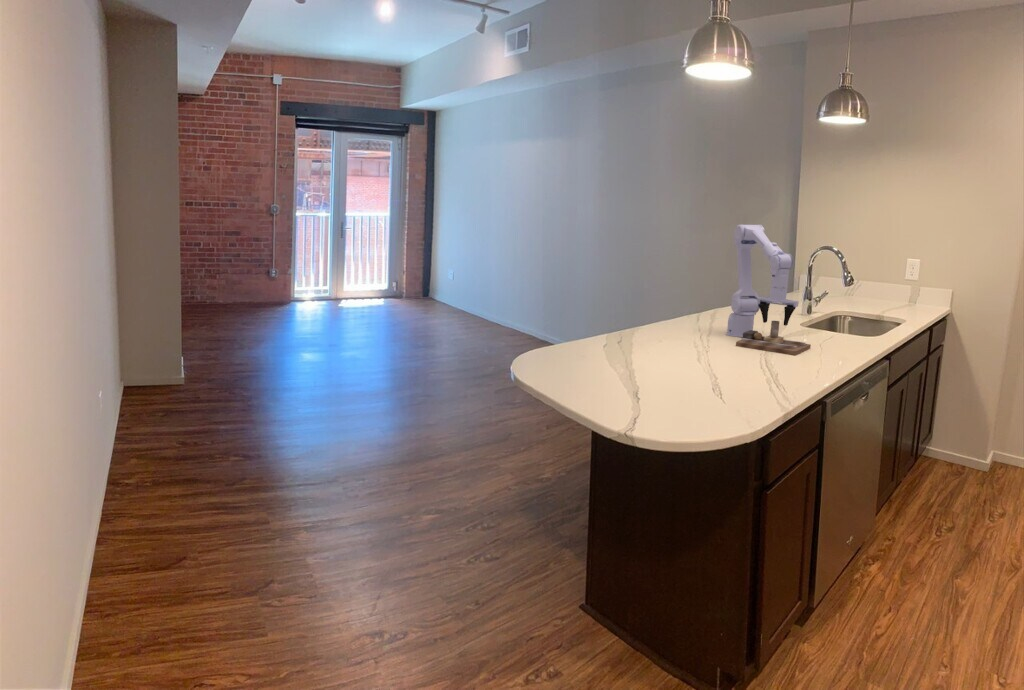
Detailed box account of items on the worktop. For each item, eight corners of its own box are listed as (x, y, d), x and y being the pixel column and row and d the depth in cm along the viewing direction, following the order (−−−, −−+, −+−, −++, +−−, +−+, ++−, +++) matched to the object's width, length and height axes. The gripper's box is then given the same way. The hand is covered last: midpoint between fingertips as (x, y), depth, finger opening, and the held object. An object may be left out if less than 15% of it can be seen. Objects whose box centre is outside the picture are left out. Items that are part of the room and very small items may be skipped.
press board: (735, 345, 269) (736, 333, 268) (752, 339, 281) (753, 327, 280) (795, 355, 256) (796, 342, 255) (810, 348, 268) (811, 336, 267)
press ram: (763, 342, 268) (765, 321, 266) (769, 340, 272) (771, 319, 270) (777, 344, 264) (779, 323, 263) (783, 342, 269) (785, 321, 267)
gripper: (755, 286, 265) (751, 322, 268) (795, 290, 256) (791, 328, 259) (762, 284, 271) (759, 320, 274) (801, 288, 262) (797, 325, 265)
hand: (775, 323), depth 267 cm, fingers open, 7 cm apart
